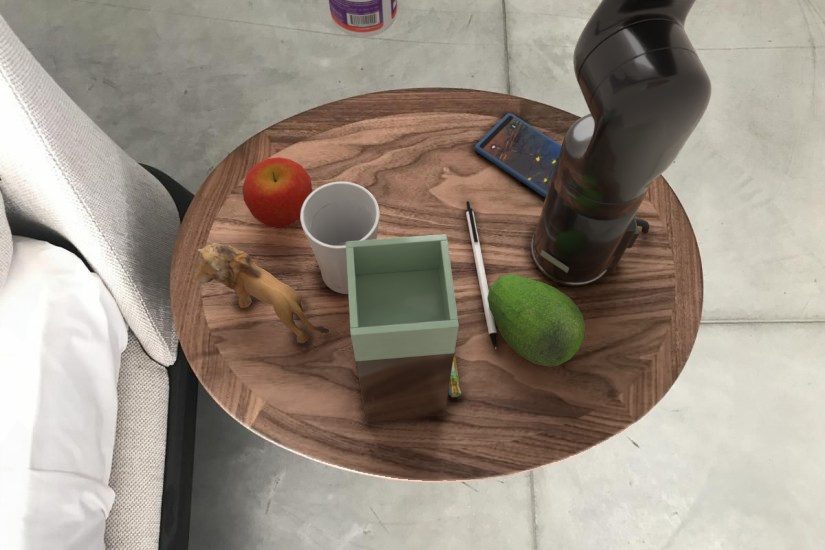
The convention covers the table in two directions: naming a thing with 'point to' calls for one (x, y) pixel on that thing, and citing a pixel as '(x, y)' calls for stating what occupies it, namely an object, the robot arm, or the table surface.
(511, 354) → the table surface
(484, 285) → the pen
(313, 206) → the cup
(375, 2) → the pill bottle
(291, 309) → the lion figurine
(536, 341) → the fruit
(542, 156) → the smartphone
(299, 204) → the apple
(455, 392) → the pencil
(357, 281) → the green open-top box
